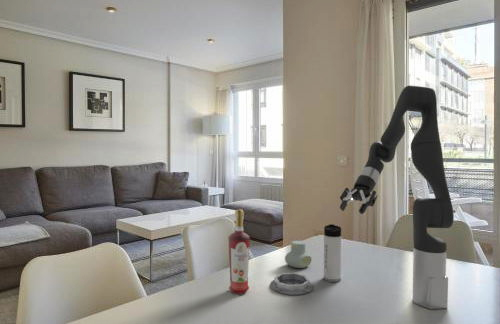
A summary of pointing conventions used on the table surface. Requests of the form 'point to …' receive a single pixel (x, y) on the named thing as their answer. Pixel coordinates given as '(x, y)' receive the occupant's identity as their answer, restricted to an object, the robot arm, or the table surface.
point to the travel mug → (332, 253)
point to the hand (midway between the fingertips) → (350, 211)
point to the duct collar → (291, 284)
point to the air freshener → (298, 255)
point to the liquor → (239, 256)
